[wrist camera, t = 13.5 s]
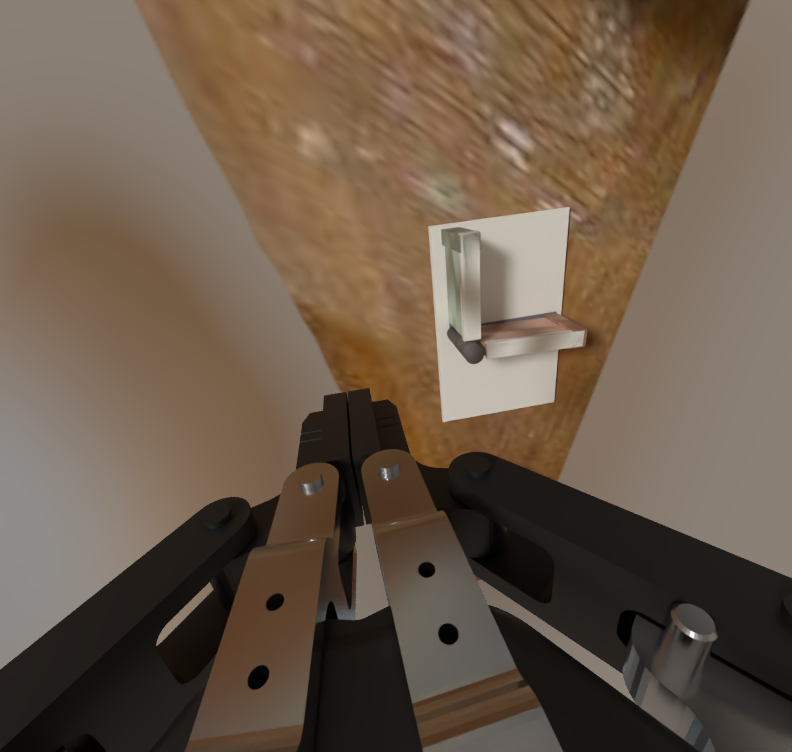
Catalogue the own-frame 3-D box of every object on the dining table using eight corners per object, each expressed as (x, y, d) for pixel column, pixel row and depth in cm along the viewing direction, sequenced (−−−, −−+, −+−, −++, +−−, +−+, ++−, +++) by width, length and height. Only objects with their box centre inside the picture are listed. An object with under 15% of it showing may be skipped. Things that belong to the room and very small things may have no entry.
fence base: (440, 228, 36) (460, 234, 30) (459, 225, 36) (482, 231, 30) (447, 342, 41) (465, 365, 35) (463, 339, 41) (484, 362, 36)
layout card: (428, 226, 36) (429, 226, 36) (567, 207, 37) (570, 207, 37) (442, 420, 46) (443, 422, 45) (552, 400, 47) (554, 402, 47)
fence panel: (468, 340, 41) (486, 360, 36) (468, 324, 40) (486, 342, 35) (555, 329, 42) (585, 346, 37) (557, 313, 41) (587, 329, 36)
